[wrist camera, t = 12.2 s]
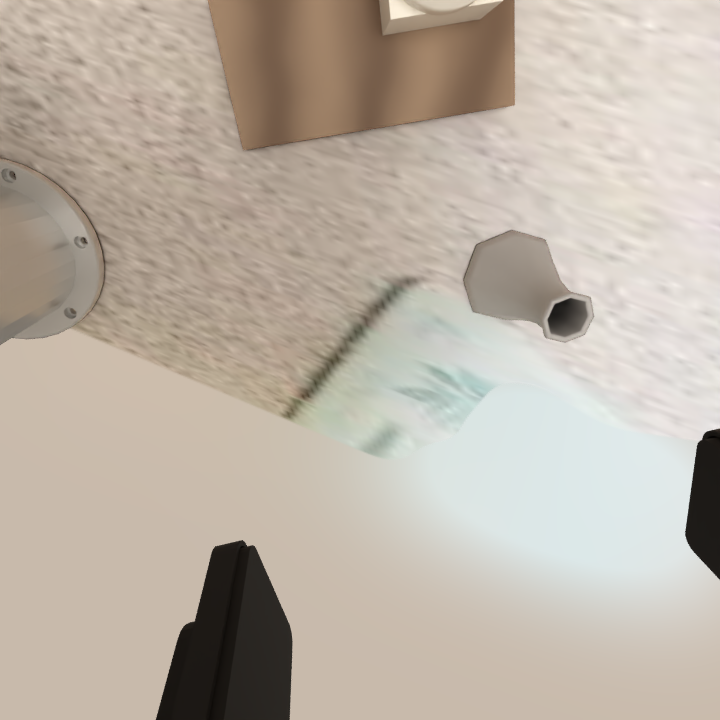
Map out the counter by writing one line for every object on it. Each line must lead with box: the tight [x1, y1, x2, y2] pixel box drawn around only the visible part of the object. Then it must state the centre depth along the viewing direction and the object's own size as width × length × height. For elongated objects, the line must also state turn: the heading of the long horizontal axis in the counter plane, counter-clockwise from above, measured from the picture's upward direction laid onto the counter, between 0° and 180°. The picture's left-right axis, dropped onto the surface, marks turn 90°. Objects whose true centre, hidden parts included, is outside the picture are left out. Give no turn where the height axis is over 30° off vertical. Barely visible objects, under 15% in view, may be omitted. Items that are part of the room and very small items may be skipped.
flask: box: [464, 230, 594, 343], centre depth 32 cm, size 7×7×10 cm
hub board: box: [208, 0, 515, 150], centre depth 27 cm, size 18×12×5 cm, turn 99°
